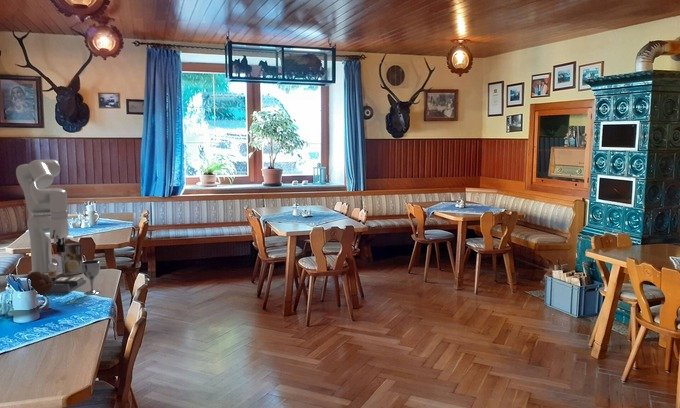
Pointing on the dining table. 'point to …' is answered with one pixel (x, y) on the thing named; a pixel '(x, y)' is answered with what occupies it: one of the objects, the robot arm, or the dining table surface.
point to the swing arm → (52, 269)
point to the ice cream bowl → (40, 282)
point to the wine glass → (91, 273)
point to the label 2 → (74, 279)
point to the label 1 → (61, 279)
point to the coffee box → (72, 259)
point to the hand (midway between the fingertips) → (60, 251)
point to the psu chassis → (65, 285)
